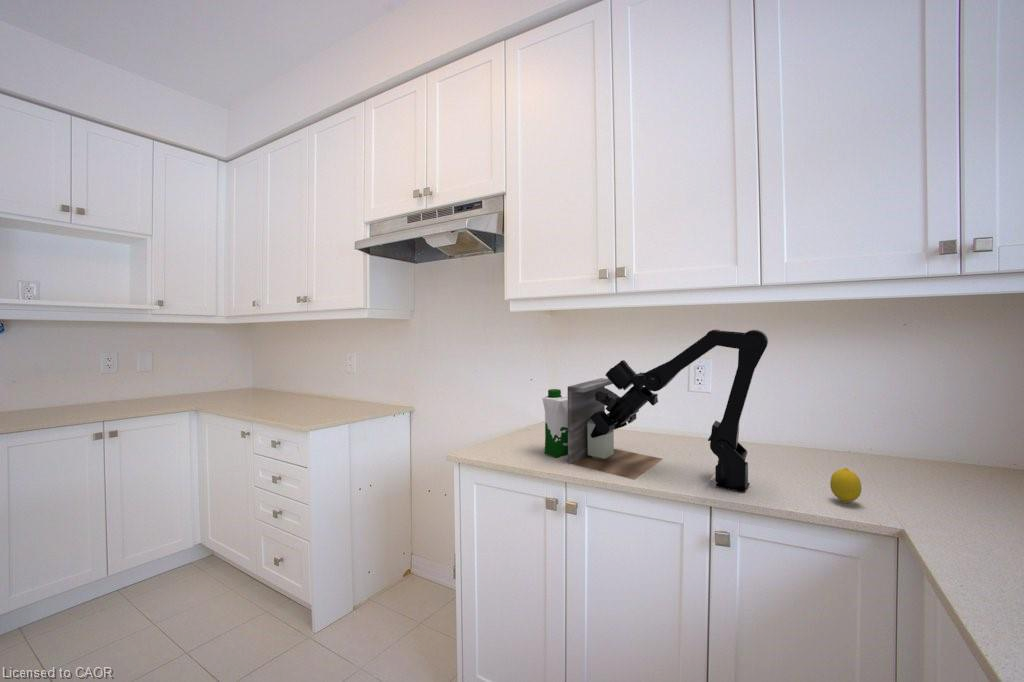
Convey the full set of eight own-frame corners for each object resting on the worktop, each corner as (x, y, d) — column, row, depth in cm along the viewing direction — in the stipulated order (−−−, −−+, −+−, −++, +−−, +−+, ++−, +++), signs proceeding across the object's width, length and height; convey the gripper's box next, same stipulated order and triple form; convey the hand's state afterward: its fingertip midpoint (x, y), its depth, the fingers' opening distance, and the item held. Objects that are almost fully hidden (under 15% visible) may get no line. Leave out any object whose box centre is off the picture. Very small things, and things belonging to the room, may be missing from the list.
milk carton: (558, 447, 139) (558, 387, 138) (580, 454, 132) (580, 390, 131) (540, 454, 133) (539, 391, 132) (561, 461, 127) (561, 394, 125)
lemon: (824, 500, 97) (825, 466, 97) (838, 496, 99) (839, 462, 99) (851, 510, 92) (852, 474, 92) (866, 505, 94) (867, 470, 94)
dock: (663, 462, 124) (663, 383, 123) (634, 483, 109) (634, 393, 108) (601, 449, 137) (601, 378, 136) (568, 466, 122) (567, 386, 120)
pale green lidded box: (613, 453, 126) (613, 420, 126) (604, 458, 122) (604, 424, 121) (597, 450, 130) (596, 418, 129) (587, 455, 126) (587, 421, 125)
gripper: (626, 376, 129) (594, 407, 137) (596, 384, 115) (562, 419, 123) (651, 405, 125) (617, 435, 132) (624, 417, 110) (587, 450, 118)
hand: (596, 434), depth 127 cm, fingers closed on pale green lidded box, 5 cm apart
